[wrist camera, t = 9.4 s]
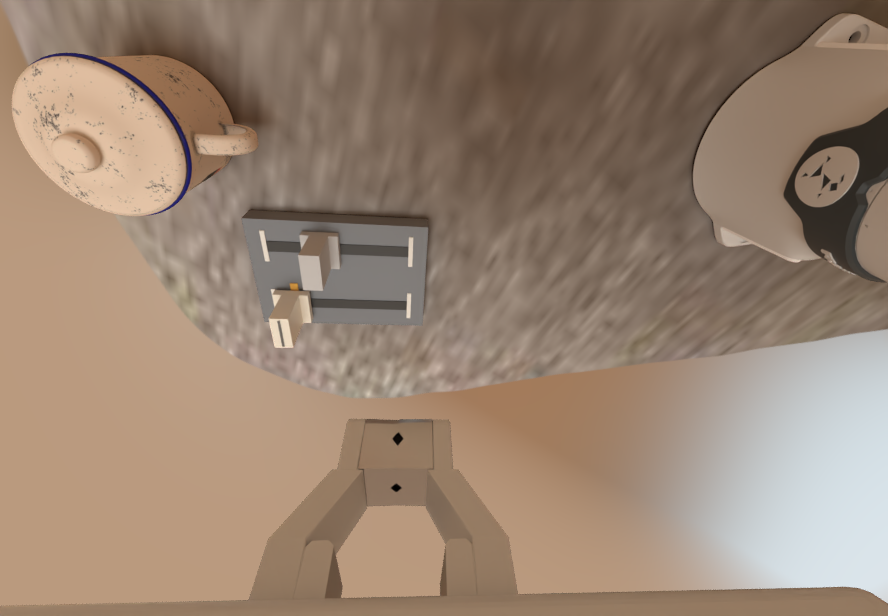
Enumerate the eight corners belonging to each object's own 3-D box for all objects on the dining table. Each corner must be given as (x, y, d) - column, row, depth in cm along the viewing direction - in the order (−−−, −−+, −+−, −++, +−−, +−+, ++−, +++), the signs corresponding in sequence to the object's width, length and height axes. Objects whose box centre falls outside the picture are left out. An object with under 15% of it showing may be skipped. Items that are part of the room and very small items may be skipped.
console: (427, 219, 36) (430, 250, 31) (421, 314, 42) (423, 355, 37) (249, 210, 34) (218, 241, 29) (270, 310, 41) (248, 352, 35)
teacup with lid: (136, 175, 32) (19, 230, 23) (90, 44, 27) (-85, 43, 18) (285, 185, 33) (234, 241, 24) (268, 62, 28) (194, 70, 19)
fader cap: (309, 291, 37) (297, 320, 33) (313, 318, 39) (302, 348, 35) (274, 290, 36) (258, 319, 33) (280, 317, 38) (265, 348, 34)
